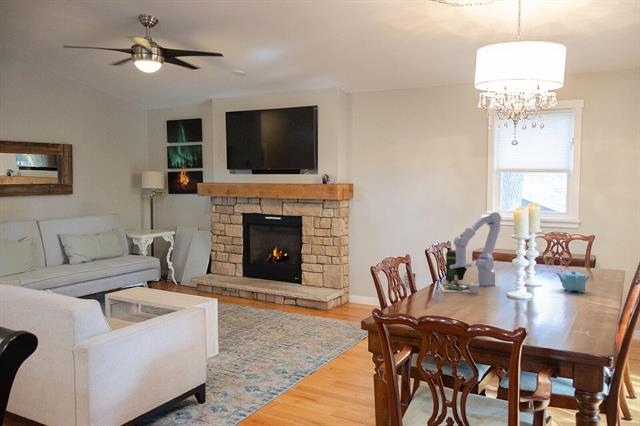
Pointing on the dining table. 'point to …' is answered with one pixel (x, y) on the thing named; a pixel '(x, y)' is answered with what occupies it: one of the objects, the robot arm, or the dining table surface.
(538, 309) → the dining table surface
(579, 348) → the dining table surface
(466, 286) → the sprocket
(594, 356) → the dining table surface
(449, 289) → the base plate
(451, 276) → the coffee jar
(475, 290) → the yellow banded block
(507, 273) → the dining table surface
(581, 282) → the teapot
